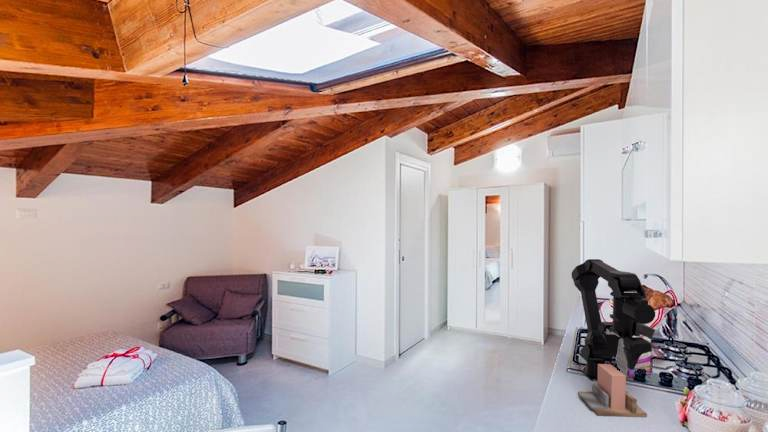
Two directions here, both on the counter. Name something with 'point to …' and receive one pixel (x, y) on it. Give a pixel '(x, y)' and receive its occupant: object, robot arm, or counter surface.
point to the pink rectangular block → (612, 385)
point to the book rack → (601, 401)
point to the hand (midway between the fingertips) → (622, 362)
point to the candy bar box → (642, 363)
